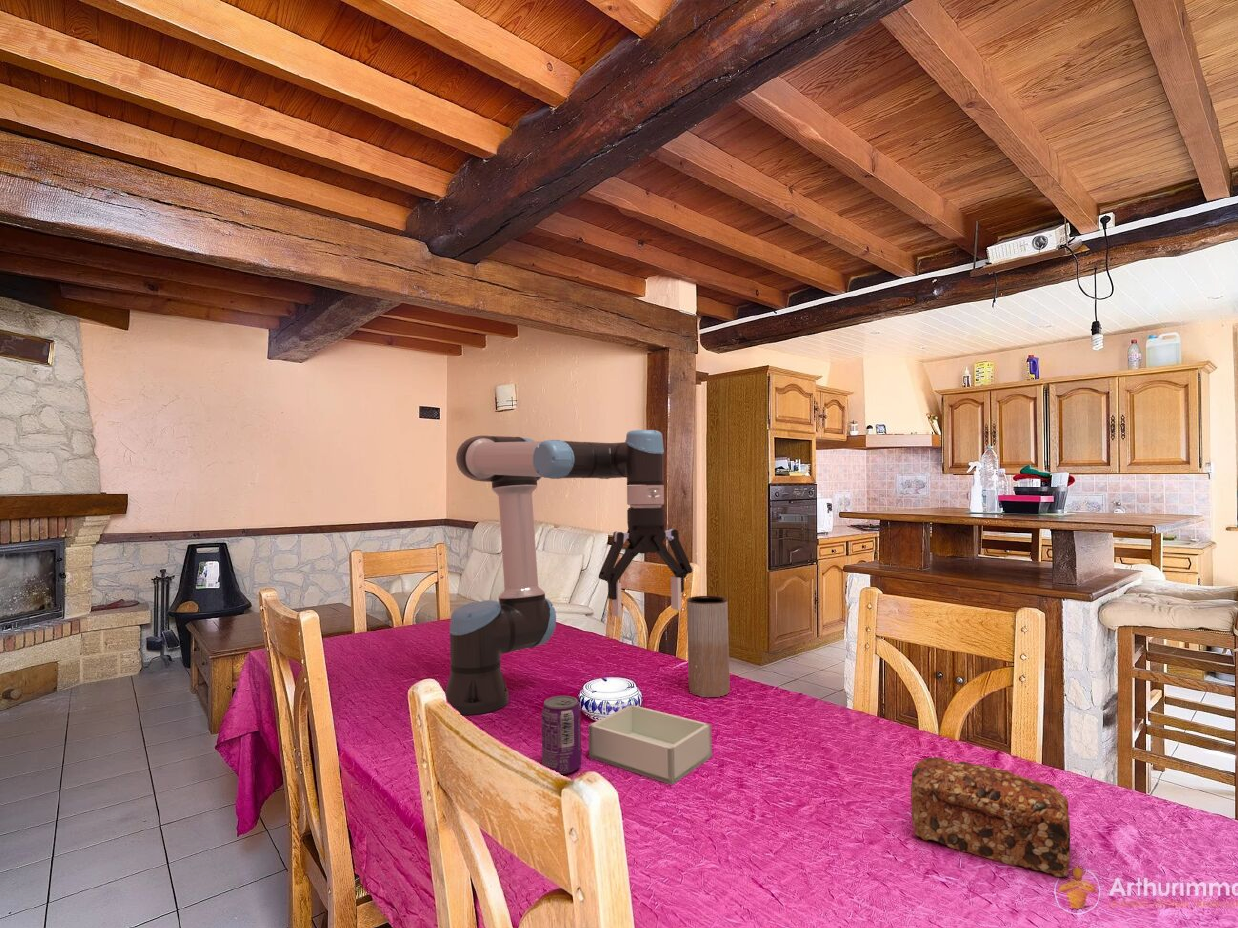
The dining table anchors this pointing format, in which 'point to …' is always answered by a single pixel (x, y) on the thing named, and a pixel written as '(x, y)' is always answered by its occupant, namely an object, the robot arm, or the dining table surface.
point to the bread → (991, 814)
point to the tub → (650, 743)
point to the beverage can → (561, 734)
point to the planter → (708, 646)
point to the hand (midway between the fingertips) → (647, 612)
